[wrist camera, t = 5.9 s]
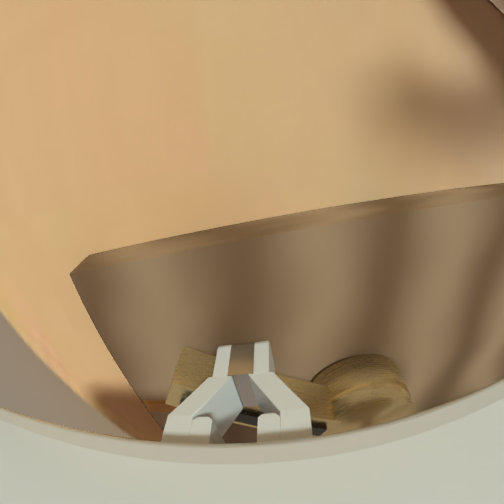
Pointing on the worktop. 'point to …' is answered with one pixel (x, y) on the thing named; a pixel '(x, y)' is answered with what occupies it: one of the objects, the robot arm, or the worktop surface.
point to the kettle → (498, 4)
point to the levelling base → (315, 295)
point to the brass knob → (318, 391)
